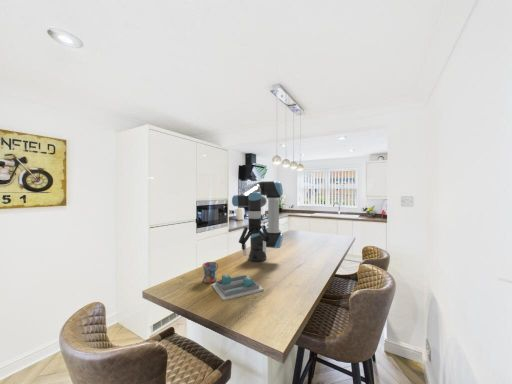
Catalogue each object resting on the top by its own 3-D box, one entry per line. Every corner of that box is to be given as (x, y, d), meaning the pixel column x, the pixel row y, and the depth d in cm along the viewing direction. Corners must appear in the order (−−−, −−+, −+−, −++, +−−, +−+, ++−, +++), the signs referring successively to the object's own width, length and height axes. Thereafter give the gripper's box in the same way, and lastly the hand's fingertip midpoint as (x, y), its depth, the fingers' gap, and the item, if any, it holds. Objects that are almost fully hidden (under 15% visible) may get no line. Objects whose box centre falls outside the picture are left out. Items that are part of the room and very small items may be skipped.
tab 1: (228, 282, 130) (228, 273, 129) (230, 285, 126) (230, 275, 126) (221, 284, 128) (221, 274, 128) (224, 286, 124) (224, 277, 124)
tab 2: (249, 284, 126) (249, 275, 126) (252, 287, 123) (252, 277, 123) (243, 286, 124) (243, 276, 124) (246, 289, 121) (246, 279, 121)
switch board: (247, 277, 140) (247, 273, 140) (263, 290, 122) (263, 284, 122) (212, 285, 128) (212, 280, 128) (223, 300, 111) (223, 294, 111)
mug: (209, 285, 129) (209, 267, 129) (199, 281, 134) (199, 264, 134) (223, 278, 139) (223, 262, 139) (212, 275, 144) (212, 259, 144)
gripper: (268, 216, 137) (268, 249, 137) (233, 218, 125) (233, 254, 125) (275, 217, 131) (275, 252, 131) (238, 219, 119) (238, 258, 118)
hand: (254, 253), depth 128 cm, fingers open, 13 cm apart
